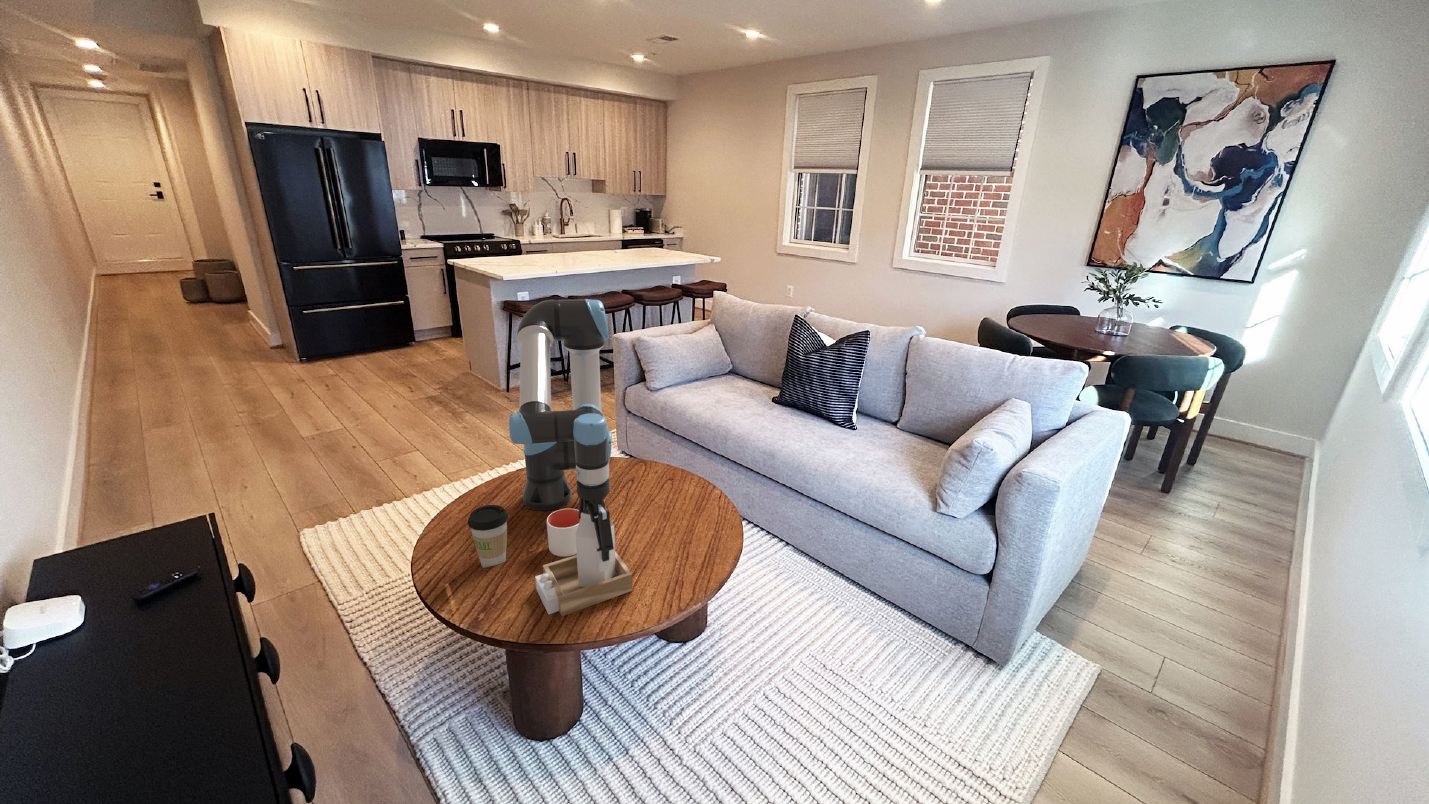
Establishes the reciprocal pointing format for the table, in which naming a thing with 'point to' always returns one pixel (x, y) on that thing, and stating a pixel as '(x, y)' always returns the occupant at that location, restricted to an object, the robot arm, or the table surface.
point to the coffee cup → (489, 534)
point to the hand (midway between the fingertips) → (596, 557)
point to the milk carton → (591, 554)
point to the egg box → (547, 593)
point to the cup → (563, 532)
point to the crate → (585, 596)
